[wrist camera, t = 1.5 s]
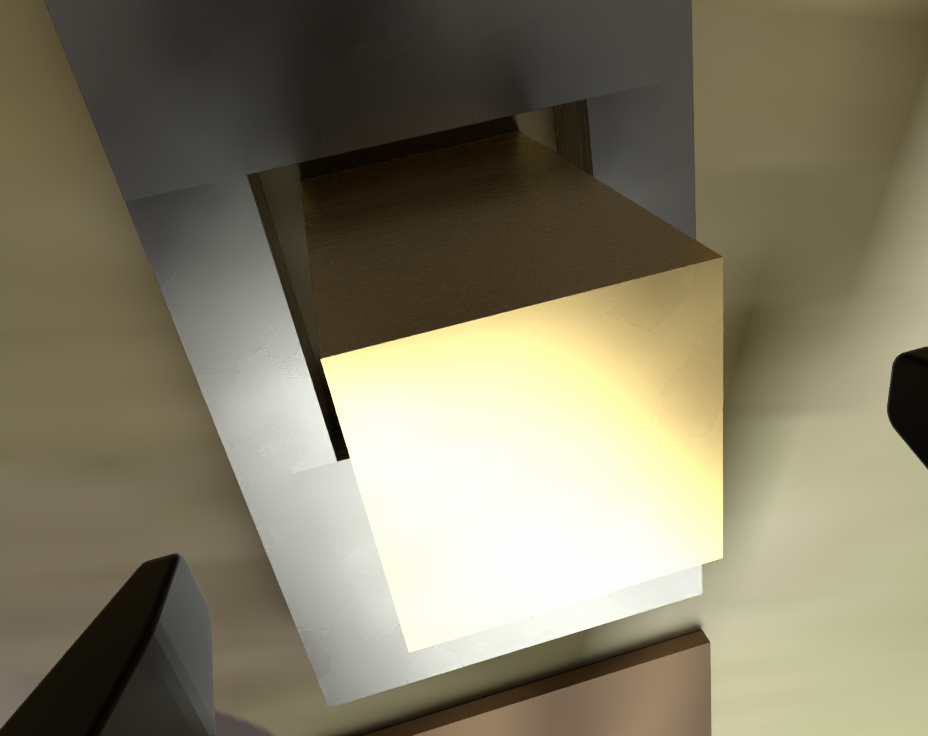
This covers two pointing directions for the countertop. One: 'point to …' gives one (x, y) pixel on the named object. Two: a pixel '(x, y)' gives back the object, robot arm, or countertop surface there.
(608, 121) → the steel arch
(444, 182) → the wood grain block
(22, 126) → the countertop surface
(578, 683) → the copper pad
